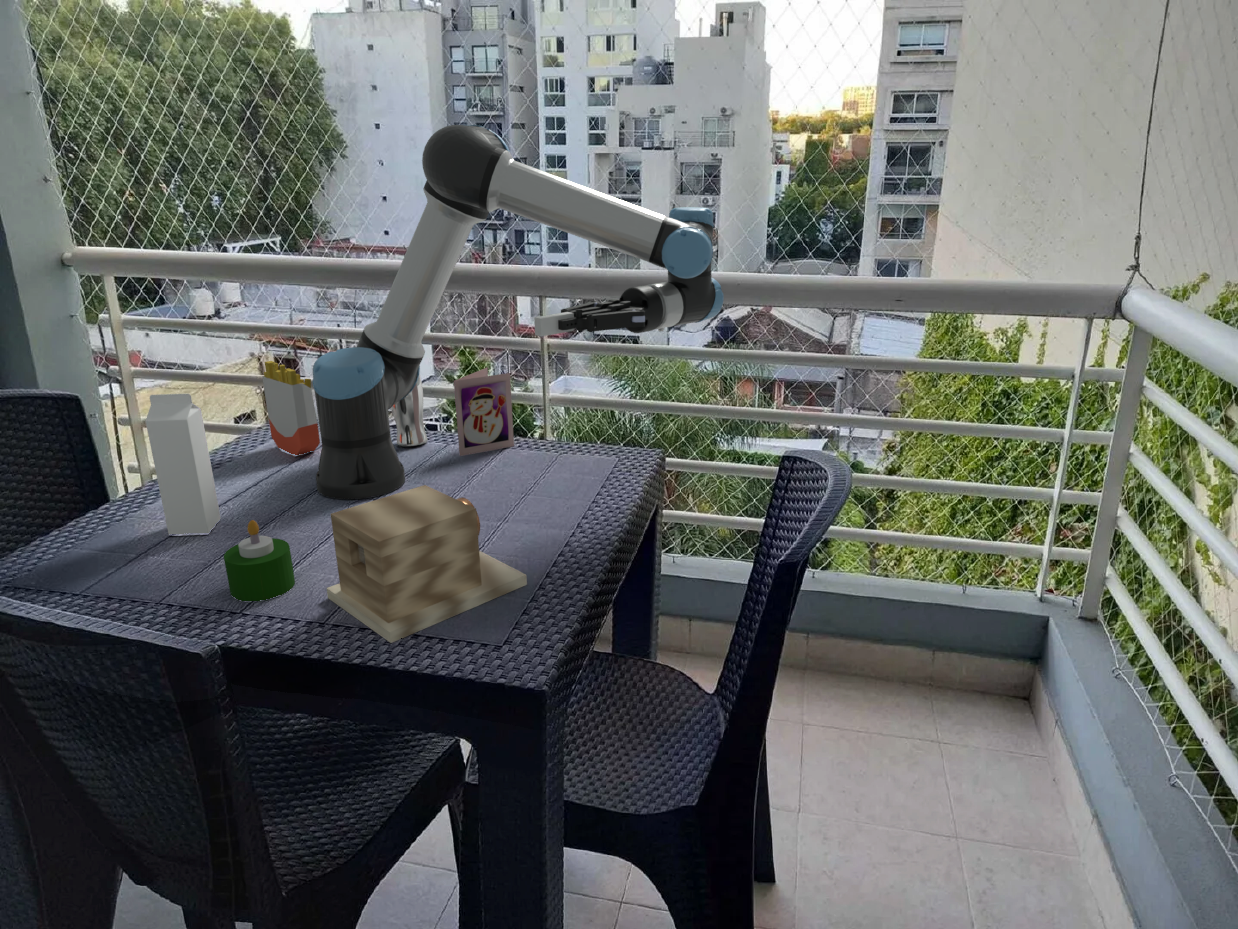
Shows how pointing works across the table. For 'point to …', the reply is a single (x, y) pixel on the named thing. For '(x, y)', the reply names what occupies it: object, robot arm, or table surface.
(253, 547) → the candle
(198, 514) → the milk
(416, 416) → the beer glass
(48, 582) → the table surface
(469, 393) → the greeting card
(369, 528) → the press block
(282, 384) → the french fries container
